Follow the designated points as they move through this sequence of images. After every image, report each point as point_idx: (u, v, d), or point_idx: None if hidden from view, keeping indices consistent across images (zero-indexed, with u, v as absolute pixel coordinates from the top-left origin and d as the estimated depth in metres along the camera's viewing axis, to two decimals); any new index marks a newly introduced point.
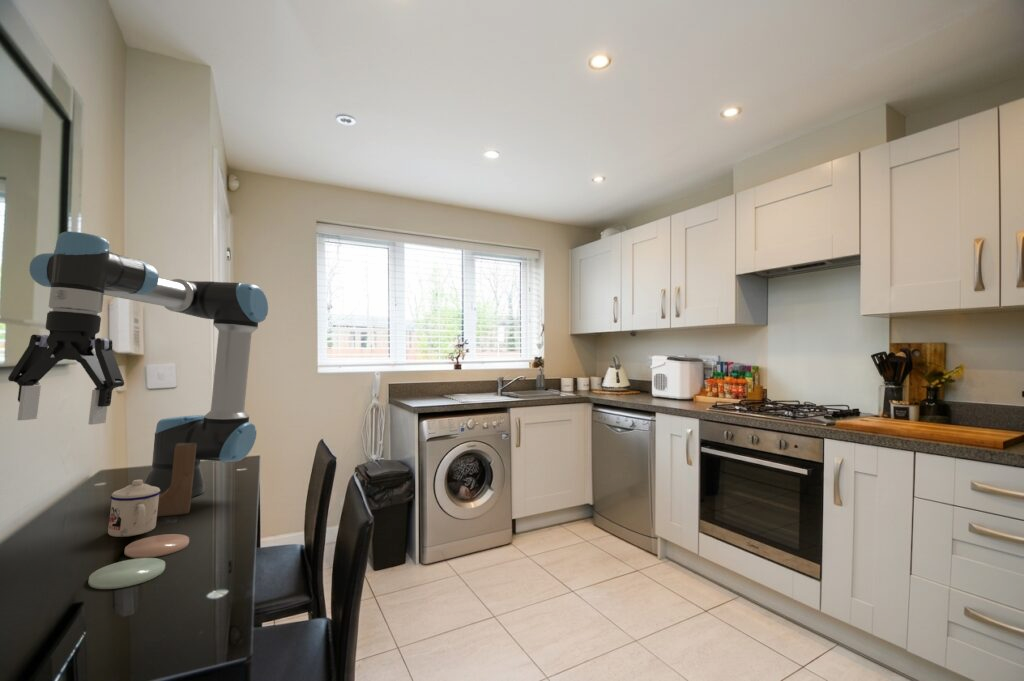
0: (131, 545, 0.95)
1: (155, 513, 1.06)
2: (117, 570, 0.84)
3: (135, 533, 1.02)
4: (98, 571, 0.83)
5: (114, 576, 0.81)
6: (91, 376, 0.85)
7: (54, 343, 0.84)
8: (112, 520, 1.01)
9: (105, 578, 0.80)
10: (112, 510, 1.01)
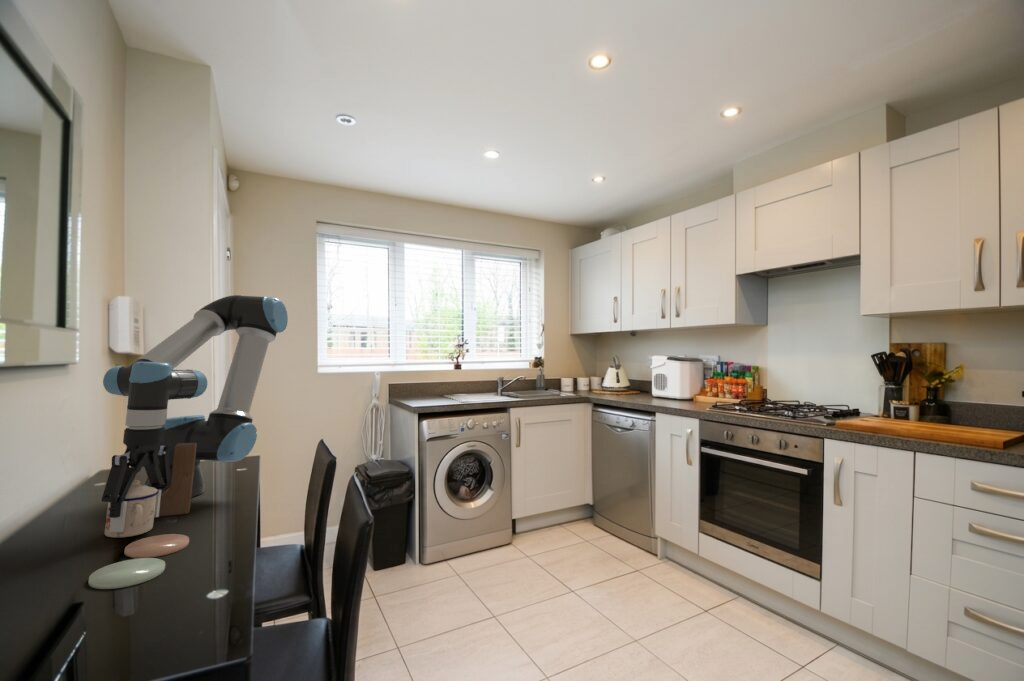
0: (131, 545, 0.95)
1: (152, 514, 1.05)
2: (117, 570, 0.84)
3: (132, 534, 1.01)
4: (98, 571, 0.83)
5: (114, 576, 0.81)
6: None
7: None
8: (108, 520, 1.00)
9: (105, 578, 0.80)
10: (109, 510, 1.00)
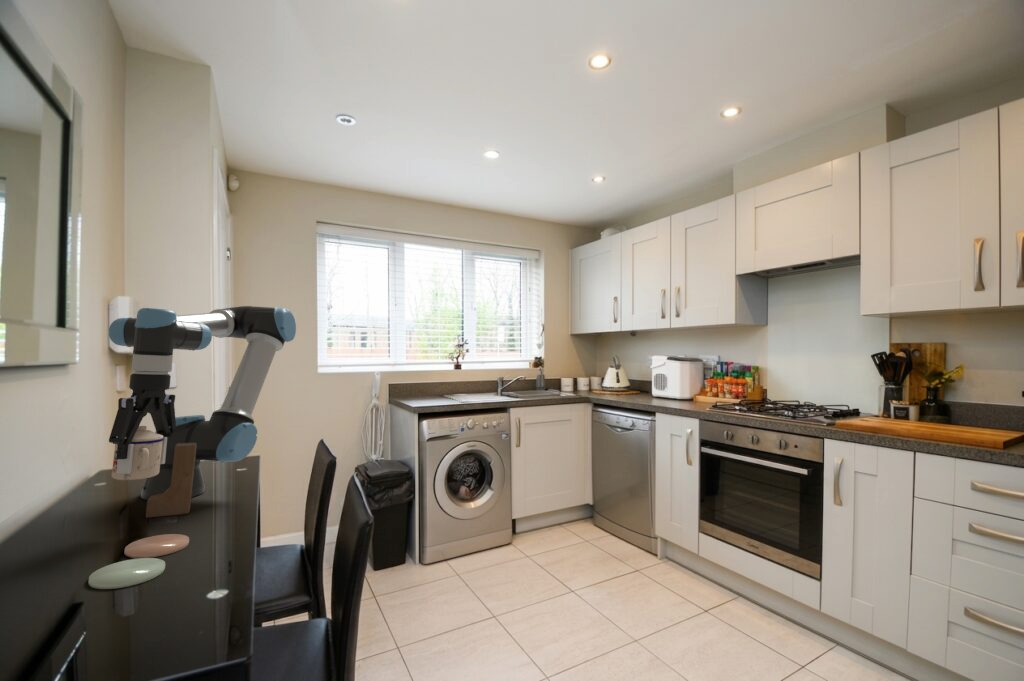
0: (131, 545, 0.95)
1: (158, 459, 1.06)
2: (117, 570, 0.84)
3: (139, 477, 1.02)
4: (98, 571, 0.83)
5: (114, 576, 0.81)
6: None
7: None
8: (115, 463, 1.01)
9: (105, 578, 0.80)
10: (116, 453, 1.01)
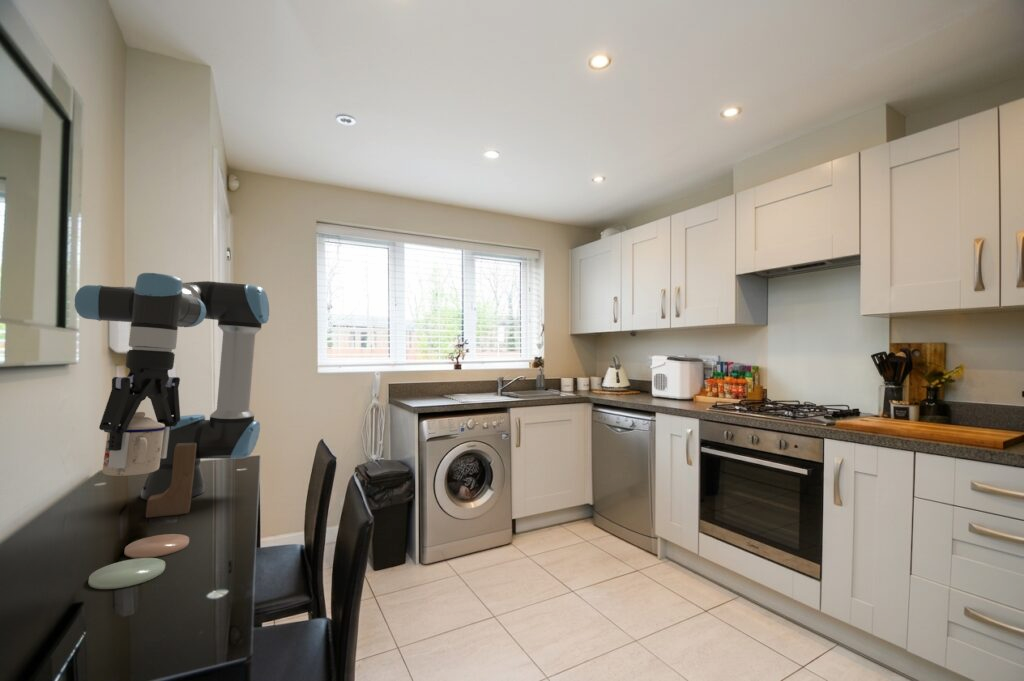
0: (131, 545, 0.95)
1: (159, 452, 0.89)
2: (117, 570, 0.84)
3: (135, 472, 0.85)
4: (98, 571, 0.83)
5: (114, 576, 0.81)
6: None
7: None
8: (107, 455, 0.84)
9: (105, 578, 0.80)
10: (108, 443, 0.84)
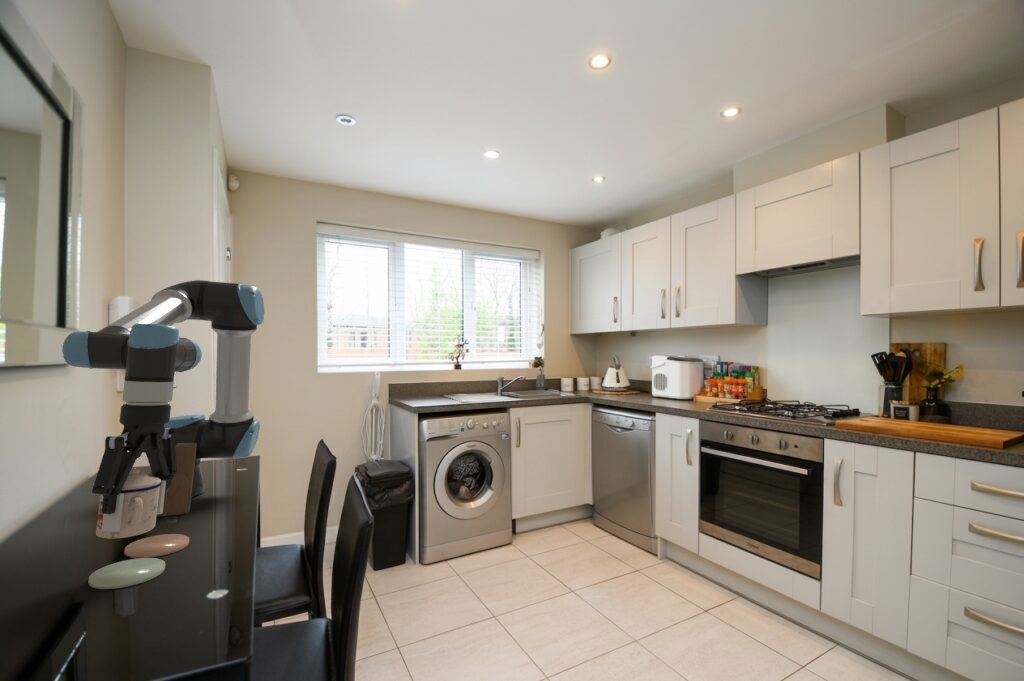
0: (131, 545, 0.95)
1: (155, 509, 0.86)
2: (117, 570, 0.84)
3: (130, 534, 0.81)
4: (98, 571, 0.83)
5: (114, 576, 0.81)
6: None
7: None
8: (101, 517, 0.81)
9: (105, 578, 0.80)
10: (101, 505, 0.81)
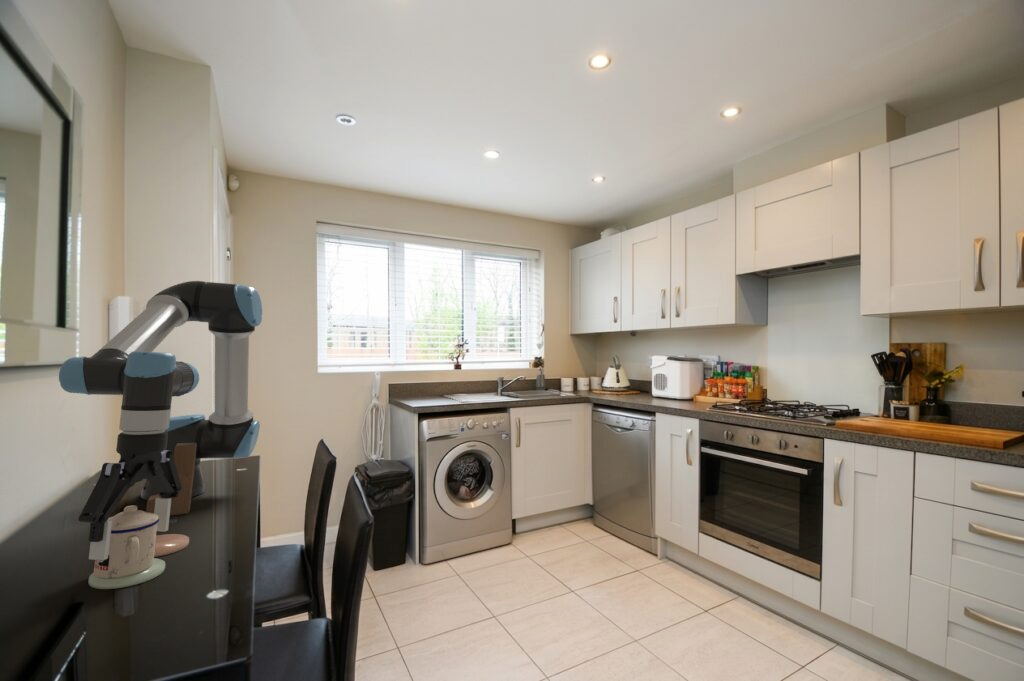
0: None
1: (152, 547, 0.86)
2: None
3: (127, 573, 0.81)
4: None
5: None
6: None
7: None
8: None
9: None
10: None
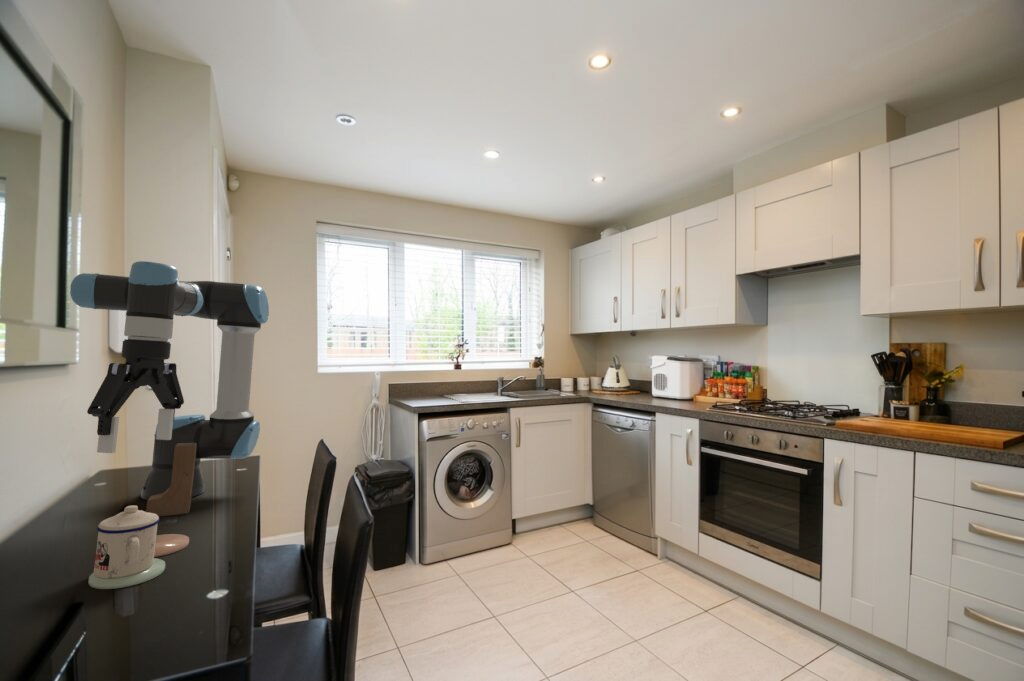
0: None
1: (152, 547, 0.86)
2: None
3: (127, 574, 0.81)
4: None
5: None
6: None
7: None
8: (98, 557, 0.81)
9: None
10: (99, 544, 0.81)
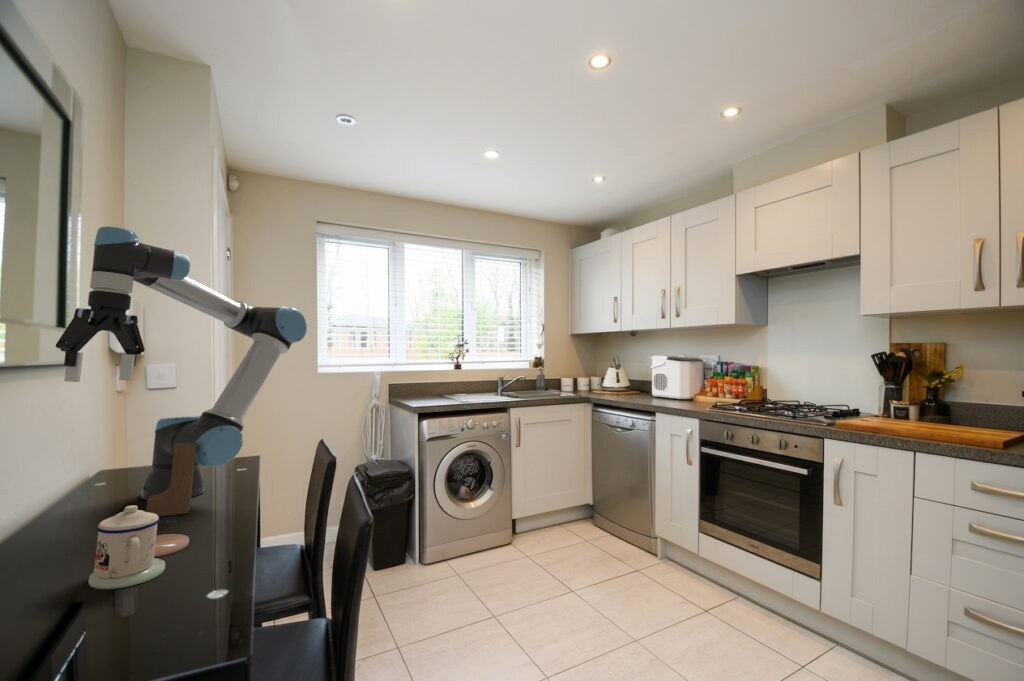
0: None
1: (152, 547, 0.86)
2: None
3: (127, 574, 0.81)
4: None
5: None
6: None
7: None
8: (98, 557, 0.81)
9: None
10: (99, 545, 0.81)
